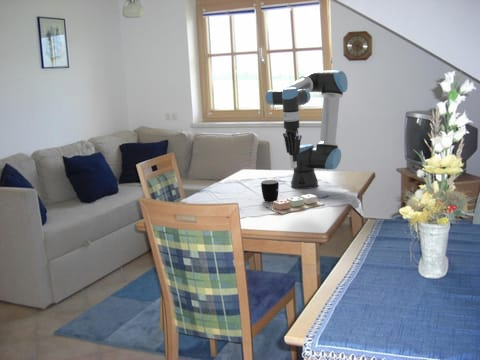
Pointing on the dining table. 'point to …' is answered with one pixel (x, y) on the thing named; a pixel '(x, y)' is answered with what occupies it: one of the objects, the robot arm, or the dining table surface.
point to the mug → (270, 190)
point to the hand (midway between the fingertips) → (293, 167)
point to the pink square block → (281, 204)
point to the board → (297, 207)
